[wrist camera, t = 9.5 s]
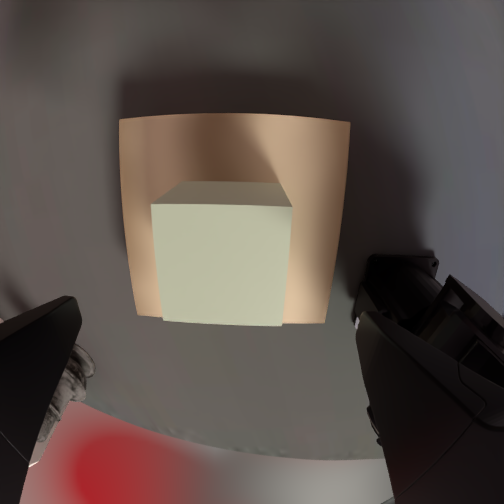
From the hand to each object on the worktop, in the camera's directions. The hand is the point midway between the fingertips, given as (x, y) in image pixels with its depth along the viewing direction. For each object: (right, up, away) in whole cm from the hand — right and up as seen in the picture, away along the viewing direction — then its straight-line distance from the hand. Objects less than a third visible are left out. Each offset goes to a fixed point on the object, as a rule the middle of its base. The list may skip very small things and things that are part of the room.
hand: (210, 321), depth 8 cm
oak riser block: (0, +5, +11) cm, 12 cm away
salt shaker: (-18, -9, +17) cm, 26 cm away
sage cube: (0, +3, +7) cm, 8 cm away
